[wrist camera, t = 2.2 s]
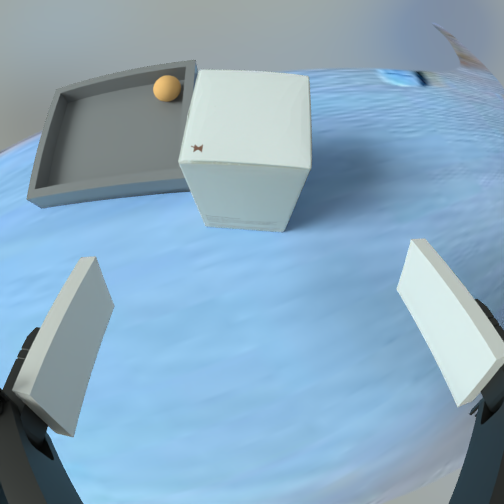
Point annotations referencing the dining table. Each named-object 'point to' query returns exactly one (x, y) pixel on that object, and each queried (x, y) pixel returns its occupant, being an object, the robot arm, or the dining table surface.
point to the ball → (167, 88)
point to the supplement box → (247, 147)
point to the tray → (113, 138)
